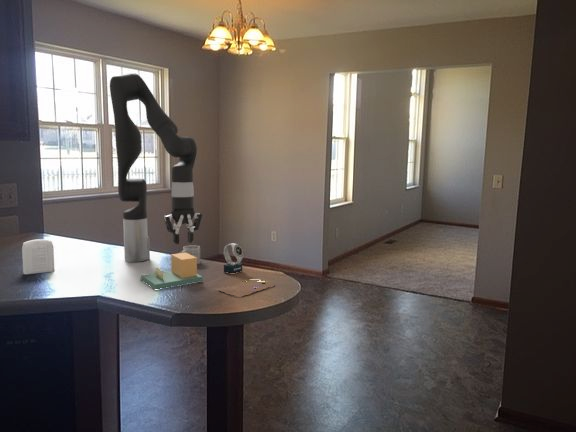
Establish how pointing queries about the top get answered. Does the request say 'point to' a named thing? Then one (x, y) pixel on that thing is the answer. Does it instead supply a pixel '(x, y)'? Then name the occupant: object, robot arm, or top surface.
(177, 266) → the block
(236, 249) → the watch
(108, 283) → the top surface
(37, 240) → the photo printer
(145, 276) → the header board
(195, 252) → the mug
